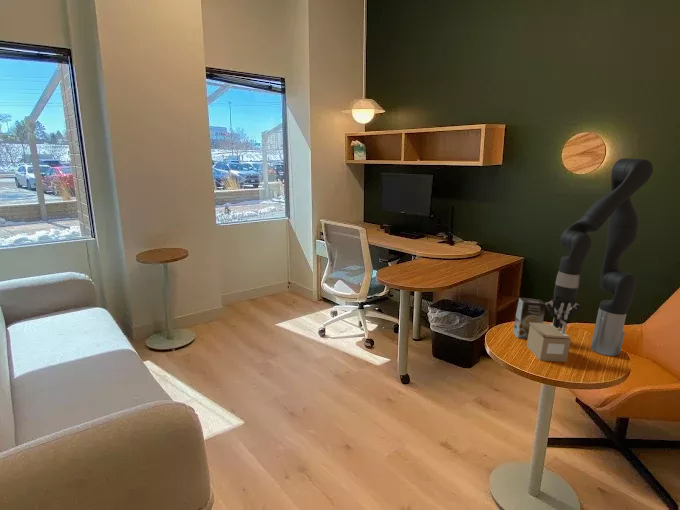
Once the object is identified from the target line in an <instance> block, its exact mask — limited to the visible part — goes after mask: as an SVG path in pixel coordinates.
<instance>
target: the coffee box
mask: <svg viewBox="0 0 680 510" xmlns="http://www.w3.org/2000/svg"><path fill="white" fill-rule="evenodd" d="M546 309H547V308H546V306H545V301H543V300H541V299H537V298H536V299H535V298H528V297H521V296H520V297H518V304H517V309H516V312H515V320H514V324H513V330H512V333H513V335H514V336H515V337H516V338H517V339H523V340H528V334H529V328H530V324H529V323H530V322H532V323H544V317H545V314H546V312H545V311H546Z"/></svg>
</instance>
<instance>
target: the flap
mask: <svg viewBox="0 0 680 510" xmlns="http://www.w3.org/2000/svg"><path fill="white" fill-rule="evenodd" d="M553 322H554V318H553V320H552V323H545V322H543V323H532V322H530V323H529V324H530V325H531V326H532V327H533V328H534V329H535V330H536V331H537V332H538V333H540V334H541V335H542V336H543V337H552V338H568V339H569V338H570V335H568V334H567V332H566V330H567V329H566V327H567V325H568V324H567V323H568V322H567V321H566V322H564V321H563V320H562V319H560V323H562V324H563V326H562V329H561V328H560V327H559V328H555V327H554V325H553Z"/></svg>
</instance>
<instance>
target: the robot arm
mask: <svg viewBox="0 0 680 510" xmlns="http://www.w3.org/2000/svg"><path fill="white" fill-rule="evenodd" d="M653 172H654V166H653V164H652V162H651V161H650V160H648V159H646V158H645V159H644V158H619V159H618V160H617V161H616V162H615V163H614V165H613V166H612V170H611V174H610V175H611V177H610V182H611V183H610V186H611V187H610V192H608V193H607V194H606V195H604V196H602V197H601V198H599V199H597V200H596V201H595V202H594V203H593V204H592V205H590V207H588V209H587V210H586V211H585V213H584V214H583V215H582V216H581V217H580V218H579V219H578V220H576V221H575V222H573V223H572V224H571V225H569V226H568V227H567V228H566V229H565V230H564V231H563V232H562V233H561V235H560V238H559V244H560V246H561V247H562V248H564V249H568V250H571V251H570V253H569V255H563V256H562V257H561V258H560V262H559V266H558V272H557V274H556V279H555V284H554V288H553V289H554V290H553V297H552V298H551V300H550V301H544V303H545V306H546V308H545V309H546V311H547V312H548V314H549V315H550V316H551V317H552V318H553V319H554V322H553V321H552V323H553V325H554V327H555V328H560V329H561V330H562V326H563V324H562V323H560V319H562V320H563V321H564V322H566V323H567V320H568V319H573V317H575V315H577V313H578V312H579V311H580V310H581V309H582V306H581V305H580V304H579V303H577V301H576V298H577V294H578V290H579V285H580V278H581V276H580V275H581V272H582V271H581V270H582V265H583V262H584V261H585V259H586V257H587V255H588V254H589V251H590V249H591V247H592V240H591V239H592V238H591V237H590V235H589V234H588V233H595V232H597V231H598V230H600V228H601V227H602V226H603V225H604V224H605V223H606V221H607V220H608V226H607V233H606V234H607V237H606V245H605V252H604V257H603V263H602V266H601V270H600V276H599V286H600V288H601V289H602V290H603V291H606V292H608V293H611V294H614V296H613V298H612V299H603V300H601V301H600V303H599V307H598V311H597V314H596V315H597V316H596V321H595V325H594V330H593V334H592V340H591V343H590V349H591V350H592V351H593V352H596V353H597V354H600V355H603V356H609V357H610V356H611V357H615V356H619V355H621V351H622V348H623V347H622V346H623V343H624V340H625V334H626V332H625V331H624V328H625V327H624V326H625V322H626V319H627V318H626V317H627V314H628V310H629V308H630V307H631V305H632V302H633V298H634V295H635V291H636V288H637V278H636V277H637V276H636V275H634V273H630V272H628V271H623V270H620V269H619V265H620V261H621V258H622V256H623V255H624V254H625V252H626V251H627V250H628V249H629V248H630V247H631V246H632V245H633V244H634V243H635V241H636V239H637V236H638V232H639V231H638V229H639V218H638V215H637V211H636V209H635V207H634V205H633V203H632V199H631V196H633V195H634V194H635V193H636V192H637V191H638V190H640V188H642V187H643V186H644V185H645V184H646V183H648V181H649V180H650V179H651V177H652V175H653ZM553 307H554V309H553Z"/></svg>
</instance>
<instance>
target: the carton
mask: <svg viewBox="0 0 680 510" xmlns="http://www.w3.org/2000/svg"><path fill="white" fill-rule="evenodd" d="M526 340H527V341H526V347H527V348H528V350H529V351H530V352H531V353H532V354H534V356H535V357H536V358H537V359H538V360H539V361H546V362H547V361H548V362H561V363H563V362H564V363H567V362H568V356H569V351H570V346H571V341H572V339H571V338H570V337H569V339H568V338H552V337H543V336H542V335H541V334H540V333H538V332H537V331H536V330H535V329H534V328H533V327H532V326H531V325H530V328H529V334H528V339H526Z"/></svg>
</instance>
